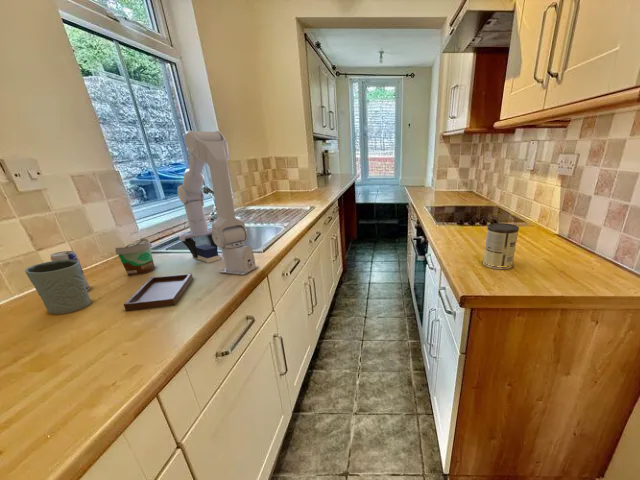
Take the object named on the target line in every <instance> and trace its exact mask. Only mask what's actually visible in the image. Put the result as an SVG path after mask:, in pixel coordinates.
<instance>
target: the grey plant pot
mask: <svg viewBox="0 0 640 480" xmlns="http://www.w3.org/2000/svg"><path fill="white" fill-rule="evenodd" d="M79 263H80V261H79V260H78V261H77V260H57V261H45V262H42V263H41V262H40V263H37V264H34V265H31V266H29V267H26V268H25V269H24V272H25V274H26V276H27V278H28V279H29V281H30V283H31V284H32V286H33V287H34V289H35V290H36V292H37V294H38V296H39V297H40V299H41V300H42V302H43V305H44V307H45V309H46V310H47V312H48V313H49V314H51V315H63V314H69V313H73V312H76V311H80V310H82V309H84V308H86V307H88V306H90V305H91V302H92V301H91V297H90V295H89V291H87V290H86V285H85V283H84V278H83V274H82V271H81V268H82V266H81V267H80V265H81V263H80V264H79Z"/></svg>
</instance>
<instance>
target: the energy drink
mask: <svg viewBox="0 0 640 480" xmlns="http://www.w3.org/2000/svg"><path fill="white" fill-rule="evenodd" d="M50 260H51V261H57V260H77V261H79V259H78V256H77V253H75V251H73V250H64V251H58V252H54V253H51V254H50ZM79 264H80V267H81V271H82V274H83V278H84V283H85V285H86V290H87V292H89V291H90V289H91V286H90V284H89V282H88V279H87V277H86V275H85V273H84V270H83V268H82V265H81V263H80V262H79Z"/></svg>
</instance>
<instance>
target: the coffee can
mask: <svg viewBox="0 0 640 480" xmlns="http://www.w3.org/2000/svg"><path fill="white" fill-rule="evenodd" d="M519 230H520V227H519V226H518V225H515V224H513V223H512V224H511V223H504V222H493V223H489V224H488V225H487V231H486V239H485V246H484V255H483V262H482V264H483V266H485V267H487V268H489V269H494V270H509V269H511V268H513V264H514V257H515V252H516V246H517V240H518V234H519ZM486 263H487V264H486ZM488 264H490V265H488ZM491 265H494V266H491ZM510 265H511V266H510ZM497 266H507V267H497Z"/></svg>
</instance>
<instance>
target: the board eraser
mask: <svg viewBox="0 0 640 480" xmlns="http://www.w3.org/2000/svg"><path fill="white" fill-rule="evenodd" d="M196 251H197V255H198V258H194V257H193V256H192V258H193V259H196V260H199V261H202V262H205V263H208V264H209V263H212V262H216V261H219V260H221V256H220V255H219V252H218V248H217V247H214V246H211V244H206V243H203V244H200V245H196Z"/></svg>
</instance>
